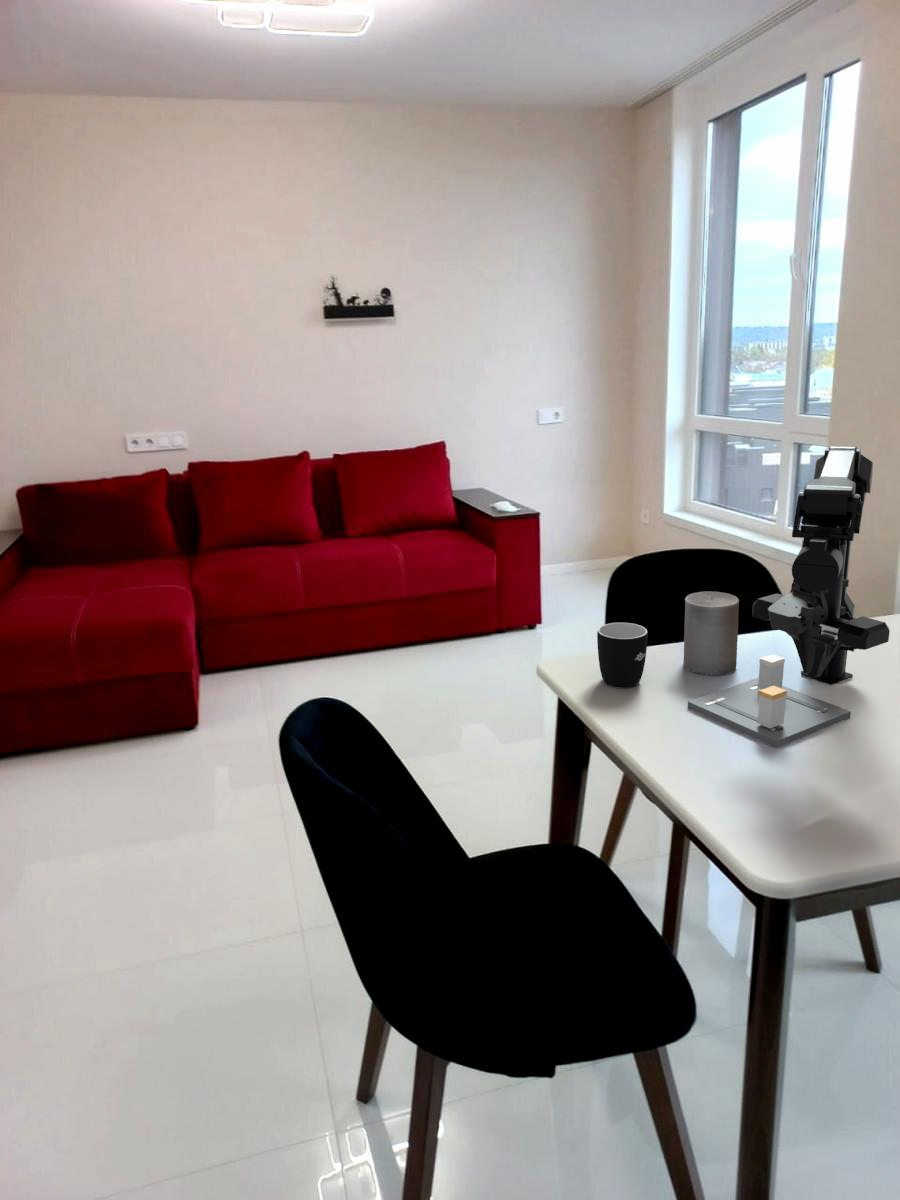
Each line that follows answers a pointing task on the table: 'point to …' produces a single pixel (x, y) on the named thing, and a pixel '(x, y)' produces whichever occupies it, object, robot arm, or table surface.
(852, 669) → the table surface
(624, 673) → the mug
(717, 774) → the table surface
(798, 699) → the console
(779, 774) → the table surface
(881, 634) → the robot arm
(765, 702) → the fader
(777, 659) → the fader
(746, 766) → the table surface
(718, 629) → the pillar candle
